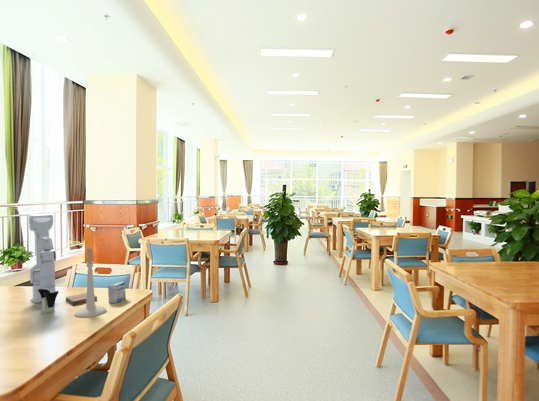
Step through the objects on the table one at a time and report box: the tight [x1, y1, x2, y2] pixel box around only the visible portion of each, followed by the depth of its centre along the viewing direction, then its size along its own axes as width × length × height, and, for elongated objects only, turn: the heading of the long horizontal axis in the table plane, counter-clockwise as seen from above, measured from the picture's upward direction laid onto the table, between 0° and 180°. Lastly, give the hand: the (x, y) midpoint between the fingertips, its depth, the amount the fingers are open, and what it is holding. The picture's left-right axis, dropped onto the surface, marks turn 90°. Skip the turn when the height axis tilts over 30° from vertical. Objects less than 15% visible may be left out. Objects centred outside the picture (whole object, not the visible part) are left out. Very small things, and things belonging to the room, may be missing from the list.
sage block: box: [41, 297, 56, 313], centre depth 163 cm, size 4×4×6 cm
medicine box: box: [107, 281, 126, 304], centre depth 178 cm, size 8×4×9 cm, turn 168°
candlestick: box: [74, 247, 107, 319], centre depth 160 cm, size 13×13×30 cm
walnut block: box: [65, 292, 98, 306], centre depth 179 cm, size 11×11×2 cm
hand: (48, 305), depth 163 cm, fingers open, 7 cm apart
